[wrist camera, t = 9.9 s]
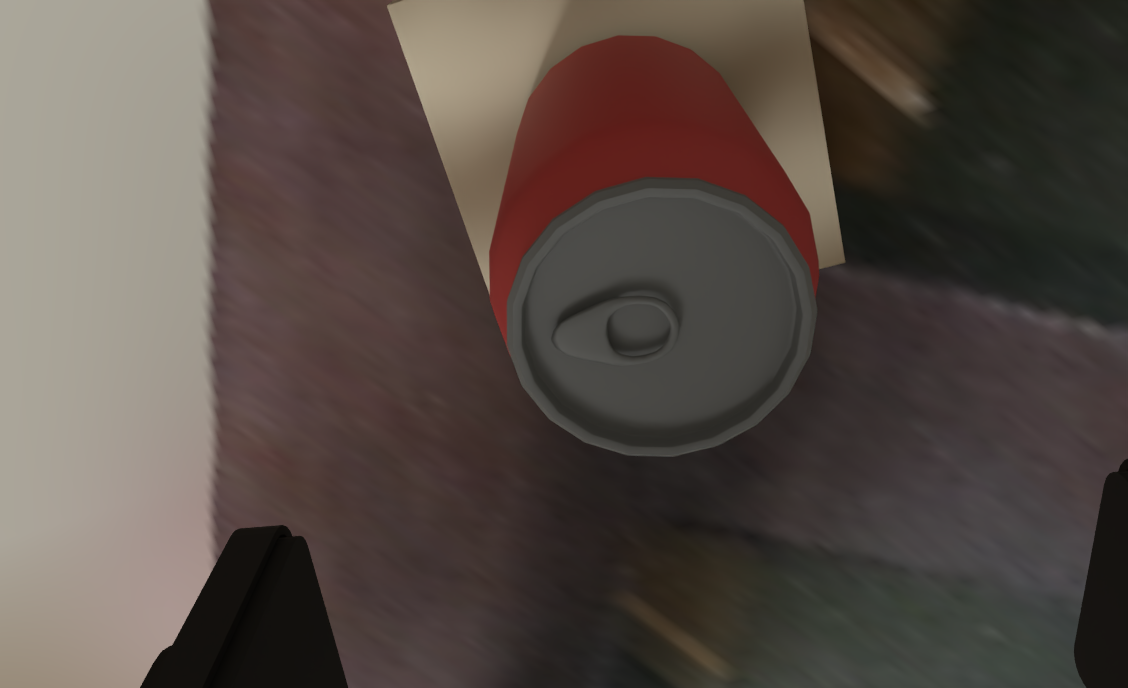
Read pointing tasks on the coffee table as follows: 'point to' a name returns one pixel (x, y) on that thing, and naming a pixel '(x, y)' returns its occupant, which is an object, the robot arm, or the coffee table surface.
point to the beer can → (650, 254)
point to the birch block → (587, 15)
